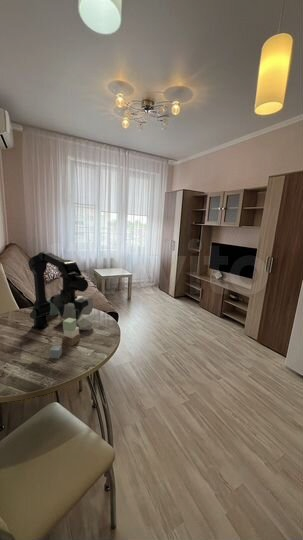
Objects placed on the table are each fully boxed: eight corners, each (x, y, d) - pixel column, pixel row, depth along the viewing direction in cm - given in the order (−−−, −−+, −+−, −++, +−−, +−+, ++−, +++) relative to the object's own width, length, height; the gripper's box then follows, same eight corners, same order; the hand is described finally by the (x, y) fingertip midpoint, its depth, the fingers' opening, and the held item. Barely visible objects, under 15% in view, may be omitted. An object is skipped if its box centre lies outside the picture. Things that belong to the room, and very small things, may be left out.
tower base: (62, 343, 110) (62, 336, 109) (70, 338, 115) (70, 331, 115) (72, 346, 108) (71, 338, 107) (80, 340, 113) (79, 333, 113)
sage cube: (63, 329, 109) (62, 321, 108) (69, 325, 113) (68, 317, 112) (70, 331, 107) (70, 322, 106) (76, 327, 111) (76, 319, 110)
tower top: (63, 336, 109) (63, 329, 109) (70, 331, 114) (70, 325, 113) (72, 338, 108) (72, 331, 107) (78, 333, 112) (78, 327, 112)
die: (84, 335, 120) (95, 319, 121) (71, 326, 120) (82, 310, 122) (88, 333, 128) (99, 318, 130) (76, 324, 129) (86, 310, 130)
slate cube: (49, 358, 98) (49, 350, 97) (53, 353, 102) (53, 345, 101) (58, 358, 98) (58, 350, 97) (62, 353, 102) (62, 345, 101)
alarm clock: (81, 310, 151) (81, 292, 148) (93, 313, 148) (93, 294, 145) (58, 322, 132) (58, 301, 129) (71, 325, 129) (71, 303, 126)
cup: (43, 315, 140) (43, 300, 138) (53, 311, 147) (52, 297, 145) (53, 318, 137) (52, 302, 135) (62, 313, 144) (62, 299, 142)
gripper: (40, 288, 102) (41, 319, 106) (73, 295, 96) (73, 328, 99) (58, 282, 113) (59, 311, 116) (89, 288, 106) (89, 318, 110)
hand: (69, 317), depth 110 cm, fingers open, 9 cm apart
